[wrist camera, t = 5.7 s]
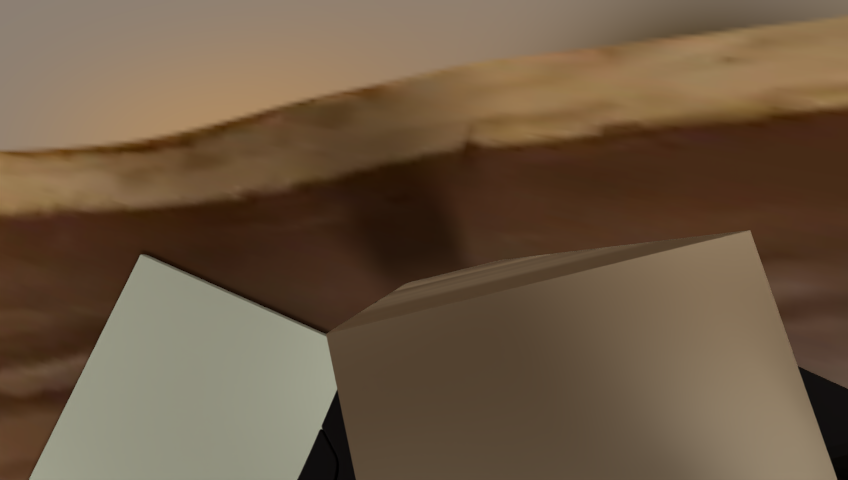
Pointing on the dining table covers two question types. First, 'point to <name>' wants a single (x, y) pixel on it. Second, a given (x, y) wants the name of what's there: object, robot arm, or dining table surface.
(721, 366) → the beige rectangular block
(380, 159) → the dining table surface
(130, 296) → the sage placemat
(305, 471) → the robot arm
